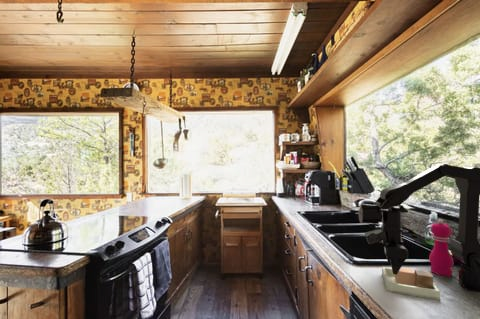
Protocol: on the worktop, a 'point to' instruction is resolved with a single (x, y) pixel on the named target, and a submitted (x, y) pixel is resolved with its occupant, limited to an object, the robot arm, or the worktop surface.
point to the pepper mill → (441, 249)
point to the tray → (408, 286)
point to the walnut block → (423, 279)
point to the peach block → (405, 276)
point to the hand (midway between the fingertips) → (392, 268)
